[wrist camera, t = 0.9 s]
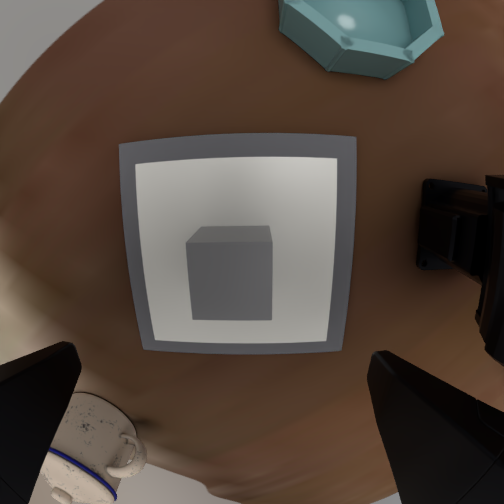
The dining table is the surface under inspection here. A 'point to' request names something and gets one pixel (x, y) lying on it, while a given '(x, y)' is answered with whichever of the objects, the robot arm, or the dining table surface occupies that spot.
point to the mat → (244, 147)
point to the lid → (238, 247)
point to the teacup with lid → (92, 452)
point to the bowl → (361, 32)
